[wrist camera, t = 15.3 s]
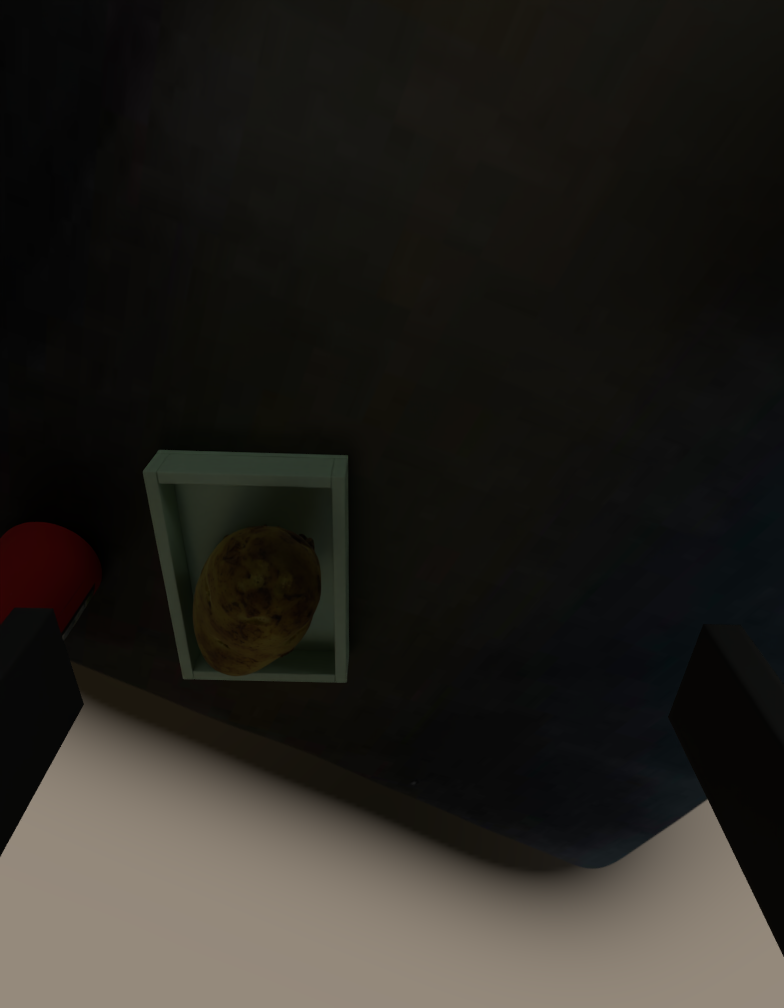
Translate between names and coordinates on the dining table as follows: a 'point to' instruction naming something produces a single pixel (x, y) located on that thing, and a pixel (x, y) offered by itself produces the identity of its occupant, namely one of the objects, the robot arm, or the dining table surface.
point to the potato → (255, 598)
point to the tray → (244, 503)
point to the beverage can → (47, 572)
